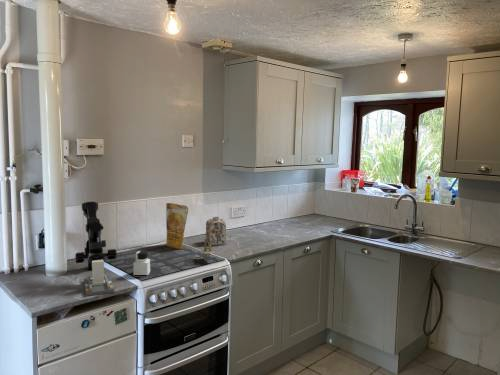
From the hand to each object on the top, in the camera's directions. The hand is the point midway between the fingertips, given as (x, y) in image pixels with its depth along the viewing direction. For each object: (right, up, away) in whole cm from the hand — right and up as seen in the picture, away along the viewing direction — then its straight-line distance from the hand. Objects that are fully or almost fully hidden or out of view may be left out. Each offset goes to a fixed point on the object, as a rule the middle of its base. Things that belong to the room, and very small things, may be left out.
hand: (97, 271), depth 195 cm
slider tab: (+1, -5, -1) cm, 6 cm away
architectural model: (+48, -3, +44) cm, 65 cm away
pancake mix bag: (+24, +1, +72) cm, 76 cm away
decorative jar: (+50, +2, +82) cm, 96 cm away
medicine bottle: (+17, -5, +18) cm, 25 cm away
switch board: (+1, -7, -1) cm, 7 cm away
